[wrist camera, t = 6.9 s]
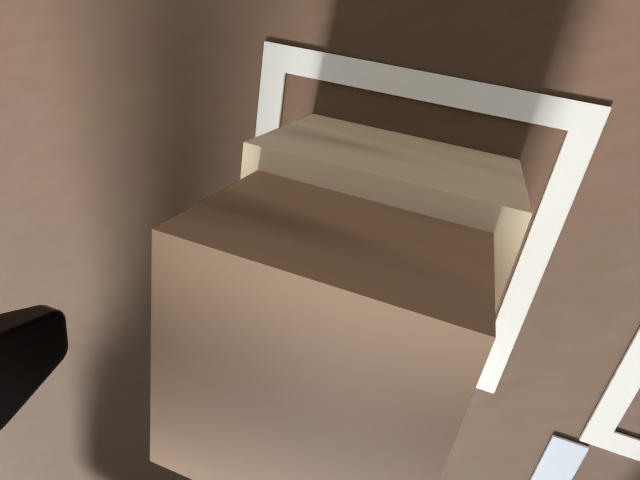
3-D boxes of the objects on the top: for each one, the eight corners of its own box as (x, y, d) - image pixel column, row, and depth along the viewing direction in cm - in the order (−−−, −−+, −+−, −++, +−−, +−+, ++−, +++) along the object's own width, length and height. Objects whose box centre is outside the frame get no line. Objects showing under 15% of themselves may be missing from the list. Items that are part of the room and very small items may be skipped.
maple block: (458, 336, 17) (447, 440, 12) (288, 283, 18) (225, 359, 14) (519, 158, 14) (532, 213, 10) (313, 113, 15) (243, 142, 11)
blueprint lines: (794, 656, 17) (795, 659, 17) (228, 430, 22) (227, 431, 22) (1273, 233, 10) (1279, 235, 10) (265, 41, 15) (264, 41, 15)
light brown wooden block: (426, 421, 12) (401, 572, 9) (237, 352, 14) (149, 460, 10) (493, 233, 10) (495, 337, 6) (257, 170, 11) (151, 228, 8)
